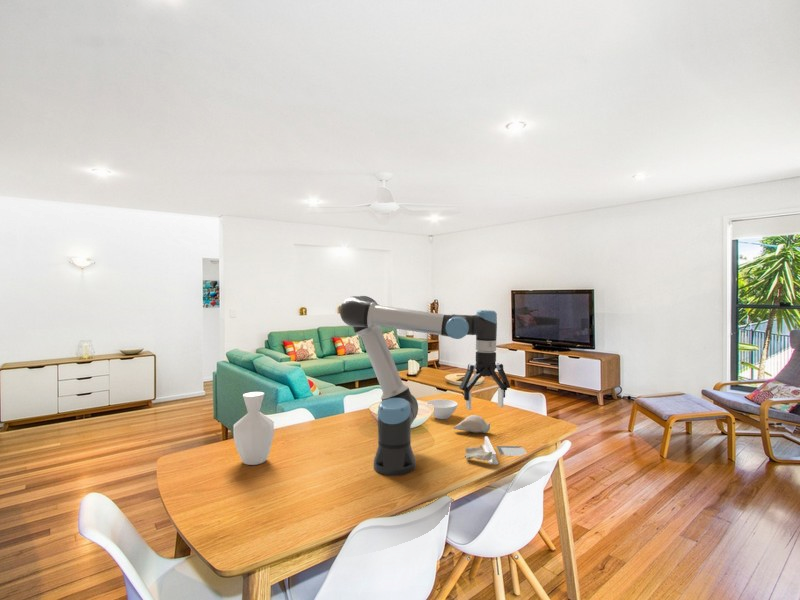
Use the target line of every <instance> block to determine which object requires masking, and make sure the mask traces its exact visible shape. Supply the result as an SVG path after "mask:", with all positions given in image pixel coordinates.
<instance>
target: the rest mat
mask: <svg viewBox="0 0 800 600" xmlns="http://www.w3.org/2000/svg"><path fill="white" fill-rule="evenodd" d="M496 448H497V451H498V452H499V454H500V456H503V455H504V457H521V456H523V455H525V454H527V451H526V449H525V448H524V447H523V446H521V445H520V446H519V445H515V446H514V445H496Z"/></svg>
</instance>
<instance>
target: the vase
mask: <svg viewBox="0 0 800 600" xmlns="http://www.w3.org/2000/svg"><path fill="white" fill-rule="evenodd" d="M264 396H265V392H262V391H250V392H246V393H243V394H242V398H243V400H244V404H245V408H246V411H247V413H246V414H245V415H244V416H242V417H241V418H240V419H238V421H236V422H235V423H234V424H233V426H232V428H233V434H232V435H233V441H234V445H235V447H236V452H237V453H238V455H239V457H240V460H241V461H242V463H243V464H244V465H251V466H256V465H261V464H263V463H265V462H266V460H267V459H268V458H269V456H270V453H271V447H272V443H273V439H274V435H275V434H274V432H275V429H274V428H275V427H274V426H275V421H274V420H273V419H272V418H271V417H269V416H267V415H265V414H264V413H262V412H261V408H262V405H263V404H262V403H263V400H264Z"/></svg>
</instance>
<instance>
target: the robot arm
mask: <svg viewBox="0 0 800 600" xmlns="http://www.w3.org/2000/svg"><path fill="white" fill-rule="evenodd" d="M339 315H340V319H341V320H342V321H343V323H344V324H345V325H347V326H350V327H351V328H352V330H353V331H354V334H355V335H357V336H359V337H360V339H361V341H362V343H363V346H364V348H365V349H364V350H365V351H366V354H367V355H368V359H369V361H370V364H371V367H372V369H373V371H374V373H375V376H376V378H377V381H378V384H379V386H380V390H381V392H382V395H381V397H380V399H381V402H380V403H379V404H378V409H377V421H378V422H377V428H378V429H377V430H378V431H377V432H378V433H377V435H378V436H377V437H378V438H377V440H378V441H377V443H378V445H377V449H376V453H375V454H374V458H373V469H374V471H375V472H376V473H378V474H381V475H384V476H389V477H390V476H391V477H397V476H398V477H400V476H404V475H408V474H410V473H412V472H414V471H415V470H416V463H417V462H416V457H415V455H414V451H413V449H412V446H411V445H412V444H411V443H412V441H411V437H412V436H411V433H412V432H411V426H412V425H413V422H414V420H415V419H416V418H417V416H418V413H419V403H418V400H417V398H416V397H415V396H414V394H412V393H411V391H410V388H409V386H407V385H405V384H404V383H403V380H402V378H401V376H400V373H399V371H398V369H397V366H396V363H395V361H394V358H393V356H392V354H391V351H390V348H389V346H388V343H387V341H386V339H385V336H384V334H383V331H382V328H389V329H395V330H402V331H409V332H414V333H415V332H416V333H421V334H422V333H424V334H428V335H436V336H442V337H450V338H452V339H455V340H460V339H463V338H465V337H466V336H476V337H475V350H476V351H475V364H471V363H469V364H468V365H467V370H466V372H465V374H464V377H463V378H462V381H461V383H460V385H459V387H458V388H459V389H460V390H461V391H463V393H464V394H463V395H464V396H463V398H464V399H463V400H465V408H466V410H468V411H471V410H472V389H473V387H474V386H475V384H477V382H478V381H479V379H480V378H481V377H483V378H484V377H492V379H493V381H494V382H495V383H496V385H497V386H498V387H499V388H497V406H498V407H500V408H504V399H505V398H506V391H507V390H508V388H511V384H510V382H509V380H508V376H507V375H506V372H505V370H504V364H503V363H500V362H497V352H496V351H497V336H498V335H497V333H498V329H497V328H498V317H497V315H498V313H497V312H496V311H495V310H489V309H488V310H487V309H483V310H482V309H479V310H477V311H476V314H474V315H472V314H469V315H468V314H453V313H452V314H443V313H435V312H429V311H422V310H414V309H408V308H407V309H406V308H400V307H393V306H386V305H379V304H378V302H377V301H376V300H375V299H373V298H372V297H369V296H366V295H360V296H359V295H358V296H356V295H354V296H350V297H347V298H345V300H344V301H342V303H341V305H340V307H339ZM496 362H497V363H496ZM496 370H497V372H498V374H499V375H498V374H497V373H496ZM474 371H475V372H474ZM499 376H500V377H499Z"/></svg>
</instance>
